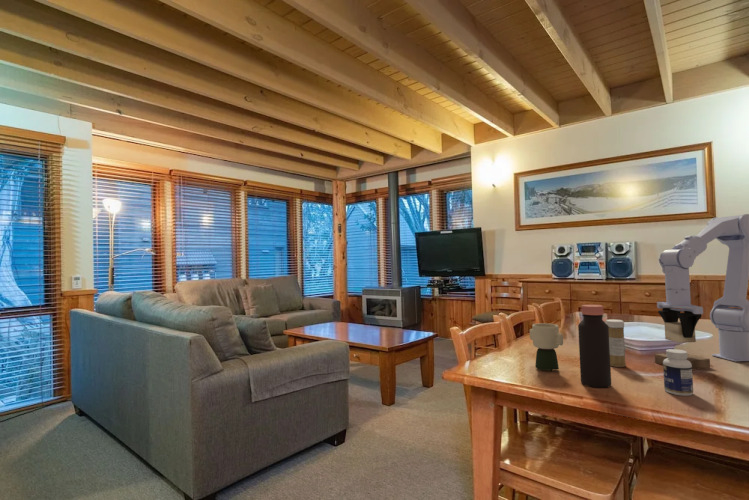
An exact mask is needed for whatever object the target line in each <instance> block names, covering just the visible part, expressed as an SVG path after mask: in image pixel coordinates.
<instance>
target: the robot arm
mask: <svg viewBox="0 0 749 500" xmlns="http://www.w3.org/2000/svg"><path fill="white" fill-rule="evenodd" d="M683 238H684V239H683V240H682V241H680V242H679V243H676V244H675V245H674V246H673V247H672V248H671V249H670V248H669V249H665V250H663V251H662V252H661V253H660V255H659V258H658V263H659V264H660V266H661V268H662V273H663V274H664V283H665V285H664V286H665V297H666V298H665V301H656V307H657V309H660V310H658V311H657V313H658V314H659V316H660V317H661V319H662V320H663V322H664V323H666V322H681V326H682V333H683V337H684V338H692V337H693V333H694V329H695V330H696V326H697V324H698V323H699V320H700V319H701V318H702V315H704V308H703V306H698V305H694V304H692V302H691V301H692V300H691V298H692V297H691V284H690V283H691V280H690V268H691V267H693V265H694V263H695V260H696V258H697V257H698V256H700V255H701V254H702V253H704V252H705V251H706V250H707V248H708V244H709V243H711V242H713V241H714V240H717V241H719V243H720V244H722V245H725V246H727V247H728V256H727V264H726V271H725V272H726V273H725V279H724V288H723V296H722V297H720V298H718V299H716V300H715V301H714V302H713V306H712V309H711V310H710V312H709V320H710V321H711V323H712V325H714V327H715V329H717V330H718V347H719V353H712V354H711V356H712V357H717V358H720V359H724V360H728V361H732V362H736V363H737V362H749V299H747V294H748V285H749V213H746V214H738V215H729V216H721V217H717V216H716V217H713V218H711V219H710V220H708V221H707V224H706V226H705V227H704V228H703V229H702V230H701V231H700V232H699V233H698V234H696V235H685V237H683Z"/></svg>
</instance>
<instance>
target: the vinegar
mask: <svg viewBox="0 0 749 500" xmlns="http://www.w3.org/2000/svg"><path fill="white" fill-rule="evenodd" d="M604 313H605V312H604V306H603V305H601V304H582V305H581V314H582V315H581V316H582V317H583V319H582V320H581V321H580V322H579V323H578V327H577V328H578V330H577V331H578V349H579V350H578V352H579V368H580V369H579V373H580V375H579V376H580V383H581V384H583V385H584V386H587V387H592V388H598V389H607V388H609V387H611V385H612V373H611V370H612V369H611V368H612V367H611V366H610V347H609V327H608V325H607V324H606V321H604V320H603V317H604Z"/></svg>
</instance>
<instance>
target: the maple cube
mask: <svg viewBox="0 0 749 500" xmlns="http://www.w3.org/2000/svg"><path fill="white" fill-rule="evenodd" d="M664 338H665V340H667V341H671V342H675V343H678V344H680V343H682V344H683V343H696V342H697V341H696V338H697V337H696V328H695V329H694V333H693V337H692V338H684V337H683V333H682V326H681V322H680V321H678V322H666V323H664Z"/></svg>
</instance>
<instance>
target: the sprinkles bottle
mask: <svg viewBox="0 0 749 500" xmlns="http://www.w3.org/2000/svg"><path fill="white" fill-rule="evenodd" d="M605 323H606V324H607V325H608V327H609V347H610V367H611V366H612V367H615V368H624V367H626V365H627V364H626V346H625V345H626V344H625V332H624V331H625V329H624V328H625V321H624V320H622V319H616V318H615V319H606V320H605Z"/></svg>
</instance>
